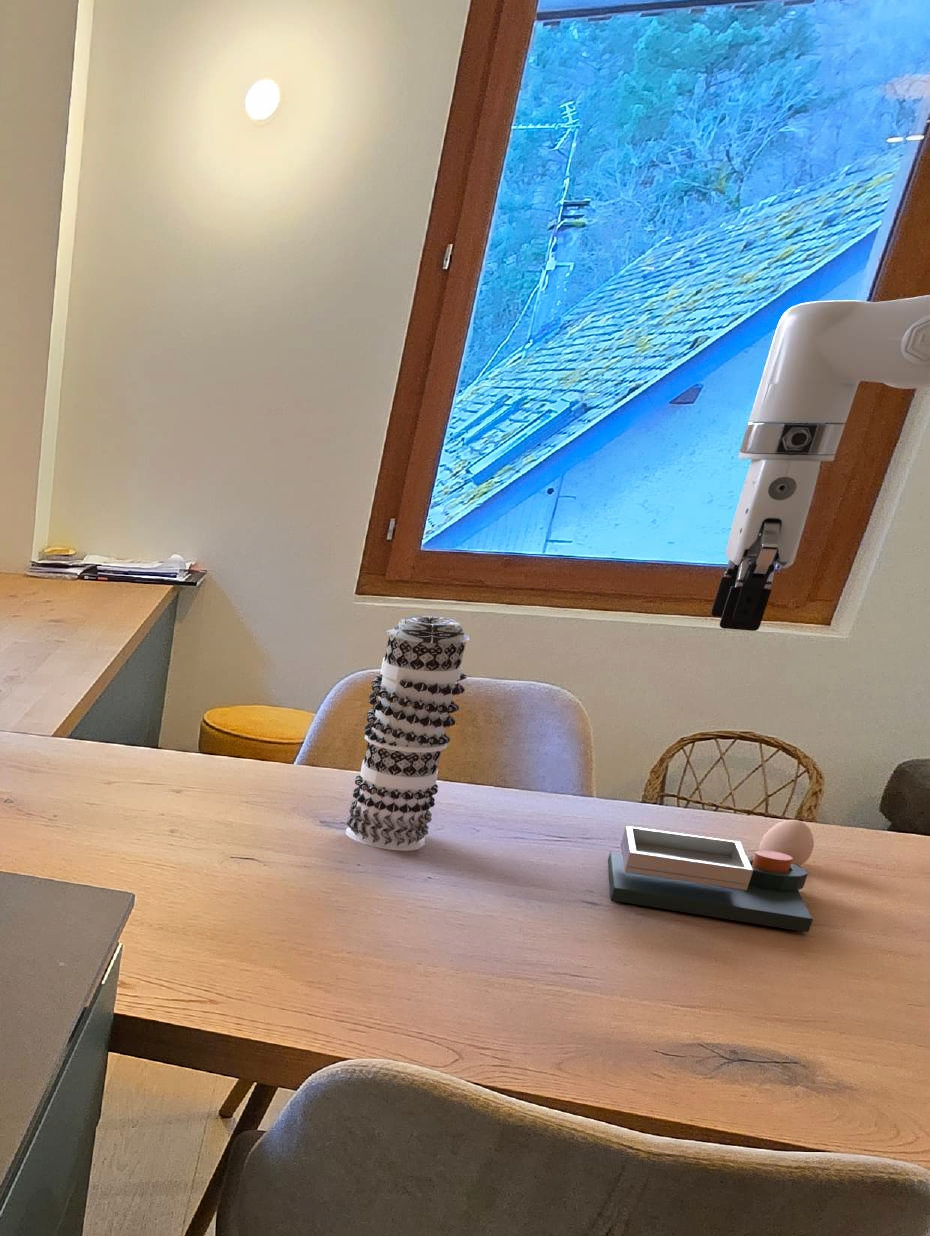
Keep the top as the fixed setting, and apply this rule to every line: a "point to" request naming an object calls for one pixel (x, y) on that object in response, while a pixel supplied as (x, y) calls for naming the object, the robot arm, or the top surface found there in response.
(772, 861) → the button
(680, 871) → the pan
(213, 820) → the top surface
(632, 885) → the scale
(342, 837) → the top surface
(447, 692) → the decorative candle
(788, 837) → the egg
